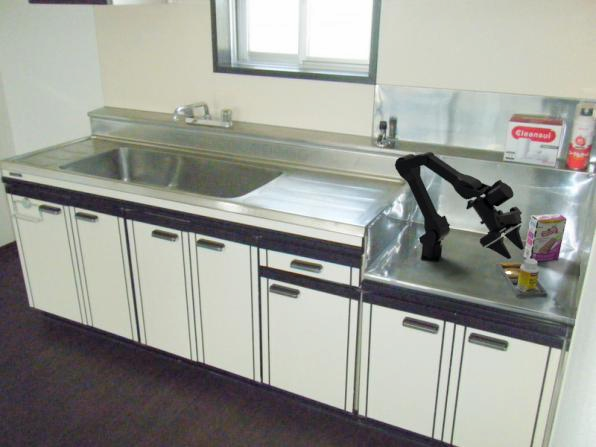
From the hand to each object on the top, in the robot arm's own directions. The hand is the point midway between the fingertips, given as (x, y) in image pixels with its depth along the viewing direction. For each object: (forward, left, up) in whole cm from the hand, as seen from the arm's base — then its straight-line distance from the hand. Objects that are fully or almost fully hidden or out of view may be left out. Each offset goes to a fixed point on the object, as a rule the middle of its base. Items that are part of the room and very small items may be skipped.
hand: (516, 253), depth 185 cm
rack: (+3, +4, -11) cm, 12 cm away
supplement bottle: (+4, -2, -11) cm, 12 cm away
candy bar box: (+11, +23, -11) cm, 28 cm away
